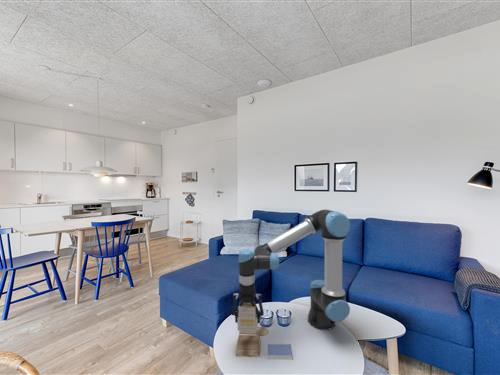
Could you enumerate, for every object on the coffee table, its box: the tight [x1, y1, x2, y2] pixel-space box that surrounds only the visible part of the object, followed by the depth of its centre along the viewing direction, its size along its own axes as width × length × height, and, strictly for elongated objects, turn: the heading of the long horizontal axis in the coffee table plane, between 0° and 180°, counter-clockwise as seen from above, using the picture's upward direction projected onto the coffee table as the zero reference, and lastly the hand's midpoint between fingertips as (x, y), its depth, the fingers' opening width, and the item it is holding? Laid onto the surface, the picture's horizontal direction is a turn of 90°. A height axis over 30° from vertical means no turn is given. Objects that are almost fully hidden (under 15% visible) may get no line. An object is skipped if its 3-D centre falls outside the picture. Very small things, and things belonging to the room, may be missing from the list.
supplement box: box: [237, 302, 256, 335], centre depth 113 cm, size 8×5×13 cm, turn 84°
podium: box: [235, 334, 261, 358], centre depth 113 cm, size 11×11×3 cm
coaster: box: [256, 326, 270, 337], centre depth 125 cm, size 8×8×1 cm
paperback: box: [267, 343, 294, 360], centre depth 109 cm, size 7×11×2 cm, turn 87°
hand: (247, 329), depth 113 cm, fingers closed on supplement box, 8 cm apart
